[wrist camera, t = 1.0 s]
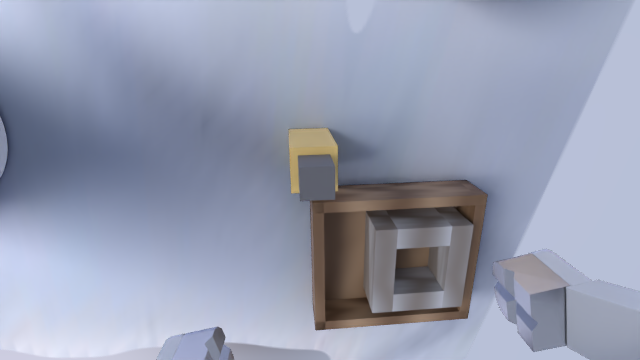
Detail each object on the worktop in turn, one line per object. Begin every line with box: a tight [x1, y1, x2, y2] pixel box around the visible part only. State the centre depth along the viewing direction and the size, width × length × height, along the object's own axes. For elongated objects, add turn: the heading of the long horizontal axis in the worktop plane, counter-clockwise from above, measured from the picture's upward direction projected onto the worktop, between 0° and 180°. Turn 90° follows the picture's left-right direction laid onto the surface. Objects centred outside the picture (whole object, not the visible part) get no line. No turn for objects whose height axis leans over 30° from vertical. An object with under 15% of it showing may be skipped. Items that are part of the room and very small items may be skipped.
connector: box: [289, 128, 338, 201], centre depth 28 cm, size 4×4×10 cm
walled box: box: [310, 180, 488, 330], centre depth 34 cm, size 16×14×5 cm
